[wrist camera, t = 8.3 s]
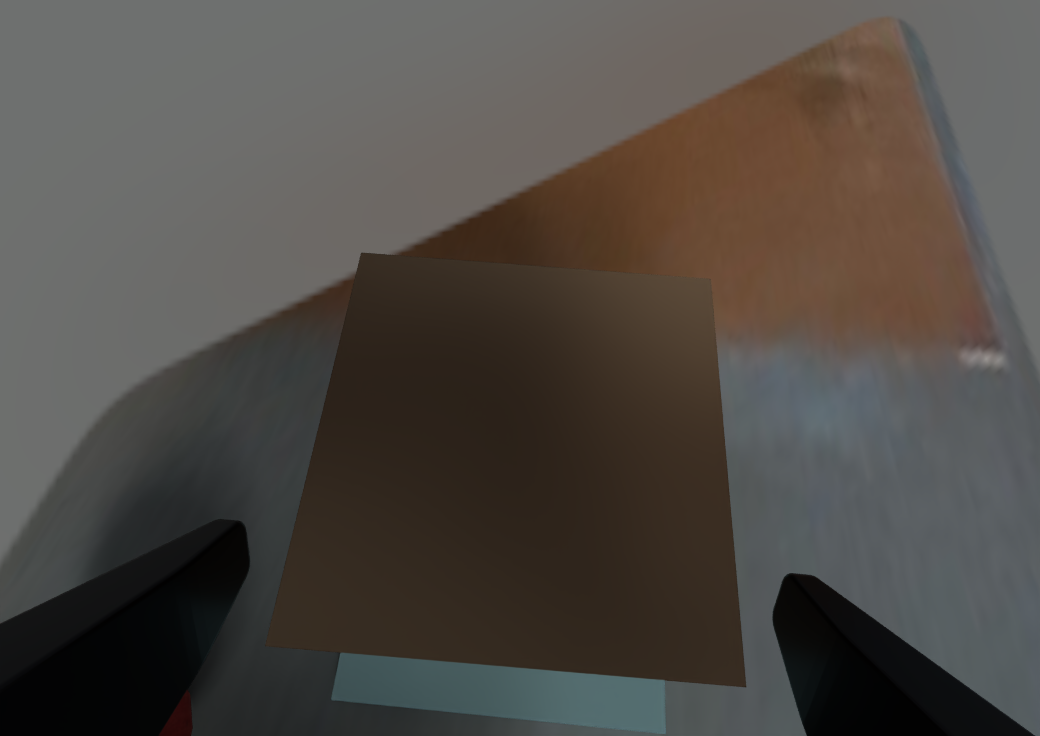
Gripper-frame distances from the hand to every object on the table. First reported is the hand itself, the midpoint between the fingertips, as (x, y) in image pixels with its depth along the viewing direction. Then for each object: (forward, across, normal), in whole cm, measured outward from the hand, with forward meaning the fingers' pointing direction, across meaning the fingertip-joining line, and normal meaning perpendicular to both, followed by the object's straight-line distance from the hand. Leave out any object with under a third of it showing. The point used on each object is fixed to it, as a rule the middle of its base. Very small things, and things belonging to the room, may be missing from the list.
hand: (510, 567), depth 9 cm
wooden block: (+9, 0, +7) cm, 11 cm away
